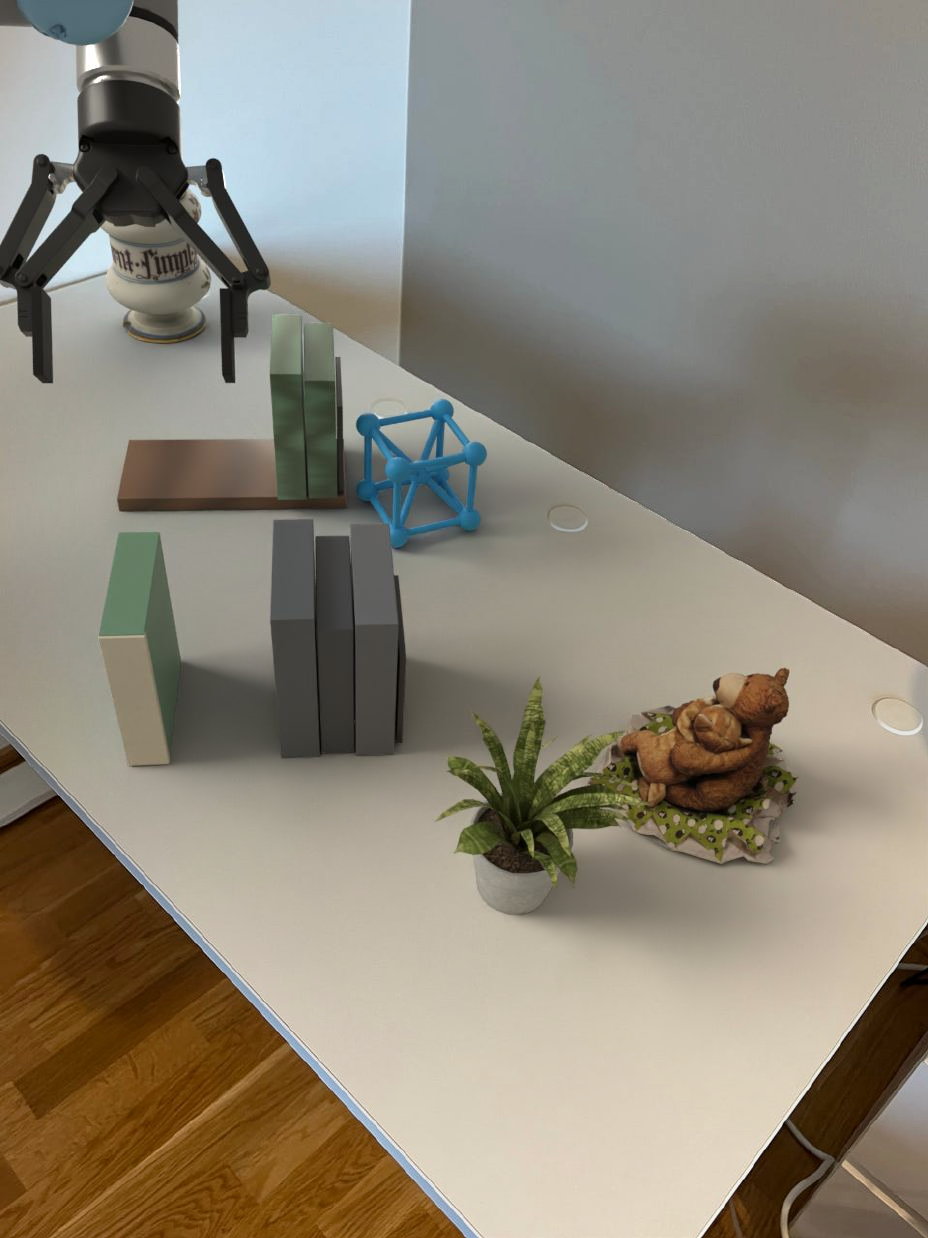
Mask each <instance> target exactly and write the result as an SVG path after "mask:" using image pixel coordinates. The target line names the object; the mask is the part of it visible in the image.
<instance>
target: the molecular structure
mask: <svg viewBox="0 0 928 1238" xmlns="http://www.w3.org/2000/svg"><path fill="white" fill-rule="evenodd" d="M454 413H455V409H454V406H453V403H452V402H451V401H449V400H448V399H445V398H439V399H436V400H435V401H433V403H431V406H430V409H425V410H420V411H414V412H409V413H404V414H397V415H393V416H387V417H382V418H379V417H378V416H377V415H376V414H375V413H372V412H363V413H362V414H360V415H359V416H358V417H357V419H356V422H355V429H356V431H357V432H358V434H359V435H360V436H362V437H364V438H363V439H364V441H363V442H364V443H363V445H364V446H363V447H364V448H363V449H364V451H363V455H364V456H363V463H364V464H363V465H364V466H363V473H364V475H363V476H364V477H363V478H362V479H361V480H360V481H358V483H357V484H356V488H355V490H356V491H355V492H356V495H357V496H358V498H359V499H360V500H362V501H363V502H370V503H371V505H372V506H373V507H374V509H375V511H376V512H377V514H378V516H379V517H380V519H381V520H382V522H383V524H385V523H388V524H389V526H390V537H391V547H392V548H395V549H396V548H401V547H403V546H405V544H406V543H407V542H408V540H409V537H412V536H417V535H421V534H422V535H423V534H426V533H430V532H434V531H435V532H436V531H439V530H443V529H448V528H451V527H456V526H457V527H458V526H459V527H460V528H461V530H464V531H467V532H468V531H469V532H470V531H474V530H476V529H477V528H478V527H479V526H480V524H481V520H482V517H481V513H480V511H479V510H477V509H476V508H474V507H475V498H476V495H475V494H476V488H477V487H476V485H477V477H478V476H477V474H478V467H480V466H482V465H483V464H484V463H485V462H486V460H487V457H488V452H487V451H488V450H487V448H486V446H485V445H484V444H483V443H481V442H479V441H476V440H475V441H470V439H469V438H468V437H467V436H466V434H465V433H464V432H463V430H462V429H461V428H460V427H459V425H458V424H457V422H456V421H455V419H454V418H453V416H454ZM428 418H431V419H433V423H432V426H431V429H430V431H429V434H428V437H427V438H426V439H427V440H426V442H425V445H424V448H423V451H422V453H421V455H420V459H419V460H415V461H413V460H412V459H411V458H410V457H409V456H408V455H407V454H406V453H405V452H404V451H403V450H401V449H400V448H399V447H398V446H397V445H396V444H395V443H394V442H393V441H392V440H391V439H390V438H389V437H388V436H386V435H385V434H384V433H383V432H382V431H381V427H385V426H391V425H396V424H401V423H407V422H411V421H412V422H413V421H417V420H422V419H423V420H424V419H428ZM446 425H447V427H449V429H450V430H451V432H452V433H453V434H454V435H455V437H456V438H457V439H458V441H459V442H460V443H461V445H462V447H463V448H462V452H459V453H454V454H449V455H444V443H445V427H446ZM435 441H436V442H435ZM373 442H374V443H375V444H376V446H377V448H378V450H379V451H380V452H381V454H382V455H383V457H384V458H385V460H386V462H387V463H386V464H385V468H384V473H385V475H386V477H387V479H384V480H381V481H378V482H377V481H376V480H375V479H373V477H372V475H373V474H372V473H373V471H372V470H373ZM434 445H435V457H434V458H430V456H431V453H432V450H433V447H434ZM429 458H430V459H429ZM462 463H465V464H466V465H467V466H469V469H468V479H467V481H468V482H467V491H466V492H467V493H466V503H465V504H466V505H465V504H464V503H463V502H462V501H461V499H460V498H459V496H458V495H457V494H456V492H455V490H454V489H453V488H452V485H450V484H449V482H448V481H449V480H450V471H449V469H448V468H450V467H453V466H455V465H459V464H462ZM409 485H410V486H409ZM419 485H420V486H421V485H426V486H427V487H429V488H430V489H431V490H432V491H433V492H434V493H435V494H436V495H437V496H438V497H439V498H440V499H441V500H442V501H443V502H445V504H447V505H448V506H449V507H450V508H451V509H452V511H454V512H455V513H456V514H457V516H456V517H454V518H450V519H445V520H441V521H436V522H432V523H427V524H424V525H419V526H414V527H410V528H407V527H405V523H406V521H407V518H408V516H409V513H410V510H411V508H412V505H413V502H414V500H415V496H416V494H417V491H418V488H419ZM404 486H409V489H408V490H407V494H406V497H405V499H404V502H403V504H402V487H404ZM392 489H393V493H392V495H393V496H392V519H391V518H390V516H389V515H388V513H387V511H386V509H385V508H384V506H383V505H382V503H381V502H380V500H379V499H378V496H379V495H380V492H382V491H386V490H392Z"/></svg>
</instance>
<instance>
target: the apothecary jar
mask: <svg viewBox="0 0 928 1238" xmlns="http://www.w3.org/2000/svg"><path fill="white" fill-rule="evenodd" d="M179 202H180V203H181V204H182V205H183V206H184V208H185V209H186V211H187V212H188V213H189V214H190V216H191V217H192V218H193V219H194V220H195V221H196V222H197V223H199V222H200V220H201V217H202V205H201V202H200V200H199V197H198V196H197V195H196V194H195V193H194V192H193V191H192V190H191V189H190V188H188V189H187V191H186V192H185V193H184V195H183V196H182V197H181V199H180V200H179ZM100 229H101V230H102V231H104V232H105V233H106V234H108V239H109V244H110V245H109V246H110V249H111V257H112V263H111V264H110V265H109V267H108V269H107V272H106V275H105V286H106V289H107V291H108V293H109V294H110V296H111V297H112V299H114V300H115V302H117V303H118V304H120V305H121V306H123V307H124V308H126V309H128V311H127V312H126V313H125V315H124V317H123V319H122V327H123V328H125V329H127V330H128V331H127V334H128V335H129V336H130V337H132V338H134V339H136V340H138V341H142V342H146V343H151V344H152V343H153V344H171V343H178V342H183V341H186V340H188V339H191V338H193V337H195V336H196V335H198V334H199V333H201V332H202V331H203V330H204V329H205V326H206V324H207V318H206V315H205V312H203V311H202V309H200V308H199V307H197V306H196V304H198V303H199V302H200V301H201V300H202V299H203V298H204V297H205V296H206V295H207V294H208V292H209V291H210V288H211V284H212V275H211V270H210V268H209V267H208V265H207V264H206V263H205V262H204V261H203V260H202V259H201V258H200V256H199V255H198V254H197V253H196V252H195V251H194V250H193V249H192V247H191V246H190V245H189V244H188V243H187V242H186V241H185V240H184V238H183V237H182V236H181V235H180V234H178V233H177V232H176V231H175V230H174V229H173V227H172V226H171V225H170V224H169V223H168V222H167V221H166V220H164V221H163V222H161V223H159V224H156V227H144V226H140V225H137V224H134V225H130V226H125V227H115V226H114V225H113V224H112V223H109V222H107V221H105V222H104V223H103V225H102V226H101V227H100Z"/></svg>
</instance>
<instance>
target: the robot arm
mask: <svg viewBox="0 0 928 1238" xmlns="http://www.w3.org/2000/svg"><path fill="white" fill-rule="evenodd" d="M0 27H19V28H33V29H34V30H36V31H37V32H38V33H39V34H42V35H43V36H46V37H49V38H50V39H51V38H52V39H53V40H56V41H60V42H62V43H64V44H68V45H70V46H71V45H72V46H75V55H76V56H75V61H76V62H75V65H76V70H75V72H76V73H75V75H76V88H77V91H78V92H79V94H78V96H77V99H76V101H77V103H76V104H77V106H76V107H77V141H78V142H77V144H78V145H77V146H78V152H77V156H76V158H75V161H74V162H73V163H69V162H68V163H67V162H59V161H52V160H51V159H50V157H49V156H48V155H46V154H44V153H38V154H37V155H35V157H34V158H33V161H32V170H31V183H30V184H29V187H28V189H27V191H26V193H25V195H24V197H23V198H22V200H21V203H20V205H19V207H18V208H17V211H16V212H15V215H14V217H13V219H12V221H11V222H10V225H9V226H8V228H7V230H6V233H5V234H4V237H3V239H2V240H1V242H0V286H2V287H3V288H7V289H8V288H10V289H12V290H15V291H16V307H17V309H16V310H17V326H18V328H19V331H20V332H21V333H22V334H23V335H24V336H25V337H29V338H31V339H32V340H31V347H32V348H31V349H32V375H33V376H34V377H35V378H36V379H37V380H38V381H39V382H41V383H42V384H54V359H53V358H54V357H53V321H52V298H51V296H50V295H49V294H48V293H47V291H46V290H45V288H46V286H47V285H48V284H49V283H50V282H51V281H52V279H54V277H55V276H56V275H57V274H58V273H59V272H60V270H61V269H62V268H63V267H64V265H66V263H67V262H68V261H69V260H70V259H71V258H72V256H73V255H74V254H75V253H76V252H77V251H78V249H79V248H81V246H82V245H83V244H84V242H85V241H86V240H87V239H88V238H89V237H90V235H92V234H94V233H96V232H98V231H99V229H101V226H102V225H103V223H104V222H105V221H107V222H109V223H112V224H113V225H114V226H115V227H125V226H130V225H134V224H137V225H140V226H144V227H156V224H159V223H161V222H163V221H164V220H166V221H167V222H168V223H169V224H170V225H171V226H172V227H173V229H174V230H175V231H176V232H177V233H178V234H180V235H181V236H182V237H183V238H184V240H185V241H186V242H187V243H188V244H189V245H190V246H191V247H192V249H193V250H194V251H195V252H196V253H197V256H198V257H199V258H201V259H202V260H203V262H204V263H205V264H206V265H207V267H208V269H209V270H210V271H212V272H213V274H214V275H215V276H216V277H217V278H218V279H219V280H220V282H221V283H222V284H223V285H224V286H225V287H224V288H223V287H219V312H220V314H219V317H220V318H219V319H220V321H219V322H220V350H221V351H220V353H221V376H222V378H223V381H224V383H225V384H236V355H235V353H236V352H235V351H236V349H235V338H237V339H238V338H241V339H242V338H244V339H246V338H247V336H248V334H249V330H250V329H249V297H250V296H251V294H253V293H255V292H258V291H266V290H268V289H269V288H270V287H271V286H272V279H271V274H270V273H271V272H270V270H269V267H268V265H267V264H266V261H265V259H264V258H263V256H262V254H261V252H260V250H259V248H258V247H257V245H256V243H255V241H254V239H253V237H252V235H251V233H250V232H249V229H248V228H247V226H246V225H245V222H244V221H243V218H242V217H241V214H240V213H239V211H238V209H237V207H236V205H235V203H234V201H233V200H232V198H231V196H230V194H229V192H228V191H227V184H226V178H225V174H224V169H223V166H222V163H221V161H220V159H218V158H215V157H212V158H209V159H208V160H206V161H205V164H203V165H192V166H186V164H185V163H184V159H183V136H182V135H183V134H182V132H183V131H182V129H183V128H182V109H181V107H180V105H179V104H180V100H181V97H182V96H181V95H182V94H181V93H182V92H181V66H180V65H181V64H180V45H179V44H180V43H179V36H180V35H179V34H180V33H179V0H0ZM71 183H76V185H77V187H78V188H79V190H80V191H81V194H80V195H79V196H78V197H77V198H76V199H75V200H74V202H73V203H72V205H71V209H70V211H69V212H68V213H67V215H66V216H65V217H64V218H63V219H62V220H61V221H60V222H59V223H58V225H56V227H55V228H54V229H53V230H52V232H50V234H48V236H47V237H46V238H45V239H44V240H43V242H42V243H41V244H40V245H39V246H38V248H36V249H35V251H34V252H33V254H31V252H32V251H33V248H34V247H35V245H36V243H37V241H38V239H39V236H40V234H41V232H42V231H43V229H44V227H45V224H46V222H47V221H48V219H49V218H50V217H49V216H50V215H51V213H52V210H53V208H54V206H55V204H56V200H57V196H58V195H61V194H63V193H64V192H65V190H66V188H67V186H68V185H69V184H71ZM190 186H195V187H197V189H198V190H199V193H200V195H202V196H203V197H206V198H211V200H212V205H213V207H214V209H215V211H216V213H217V215H218V218H219V219H220V221H221V223H222V224H223V227H224V228H225V230H226V232H227V234H228V236H229V237H230V240H231V241H232V243H233V245H234V247H235V249H236V251H237V252H238V254H239V256H240V259H241V260H242V263H243V264H244V266H245V267H246V269H247V270H245V271H240V270H239V268H238V267H237V266H236V265H235V264H234V263H233V262H232V260H231V259H230V258H229V257H228V256H227V254H225V252H223V250H222V249H221V248H220V247H219V245H218V244H216V243H215V241H214V240H213V239H212V238H211V237H210V236H209V235H208V234H207V233H206V231H205V230H204V229H203V228H202V227H201V226H200V224H198V223H199V222H198V223H197V222H196V221H195V220H194V219H193V218H192V217H191V216H190V214H189V213H188V212H187V211H186V209H185V208H184V206H183V205H182V204H181V203H180V202H179V200H180V199H181V197H182V196H183V195H184V193H185V192H186V191H187V189H189V188H190ZM30 254H31V256H30Z"/></svg>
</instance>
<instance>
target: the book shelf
mask: <svg viewBox="0 0 928 1238" xmlns="http://www.w3.org/2000/svg"><path fill="white" fill-rule="evenodd" d="M302 316H303V315H302V314H301V313H299V314H298V313H272V314H271V329H270V353H269V357H270V358H269V387H270V403H271V417H272V433H273V438H238V439H237V438H233V439H232V438H229V439H228V438H223V439H222V438H219V439H218V438H217V439H211V438H209V439H208V438H207V439H205V438H204V439H203V438H201V439H200V438H199V439H196V438H195V439H194V438H193V439H129V440H128V442H127V443H128V444H127V446H126V447H127V448H126V451H125V457H124V461H123V468H122V473H121V477H120V483H119V486H118V492H117V495H116V496H117V497H116V501H117V507H118V511H119V512H139V511H140V512H141V511H142V512H147V511H150V512H151V511H154V512H155V511H225V510H228V511H229V510H294V509H295V510H297V509H299V510H300V509H301V510H302V509H305V510H306V509H307V510H308V509H347V507H348V506H347V505H348V504H347V500H348V498H347V496H348V495H347V477H346V476H347V475H346V457H345V456H346V455H345V439H344V404H343V403H344V402H343V384H342V382H343V381H342V362H341V356H335V337H334V336H335V335H334V323H333V322H304V323H303V318H302Z"/></svg>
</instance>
